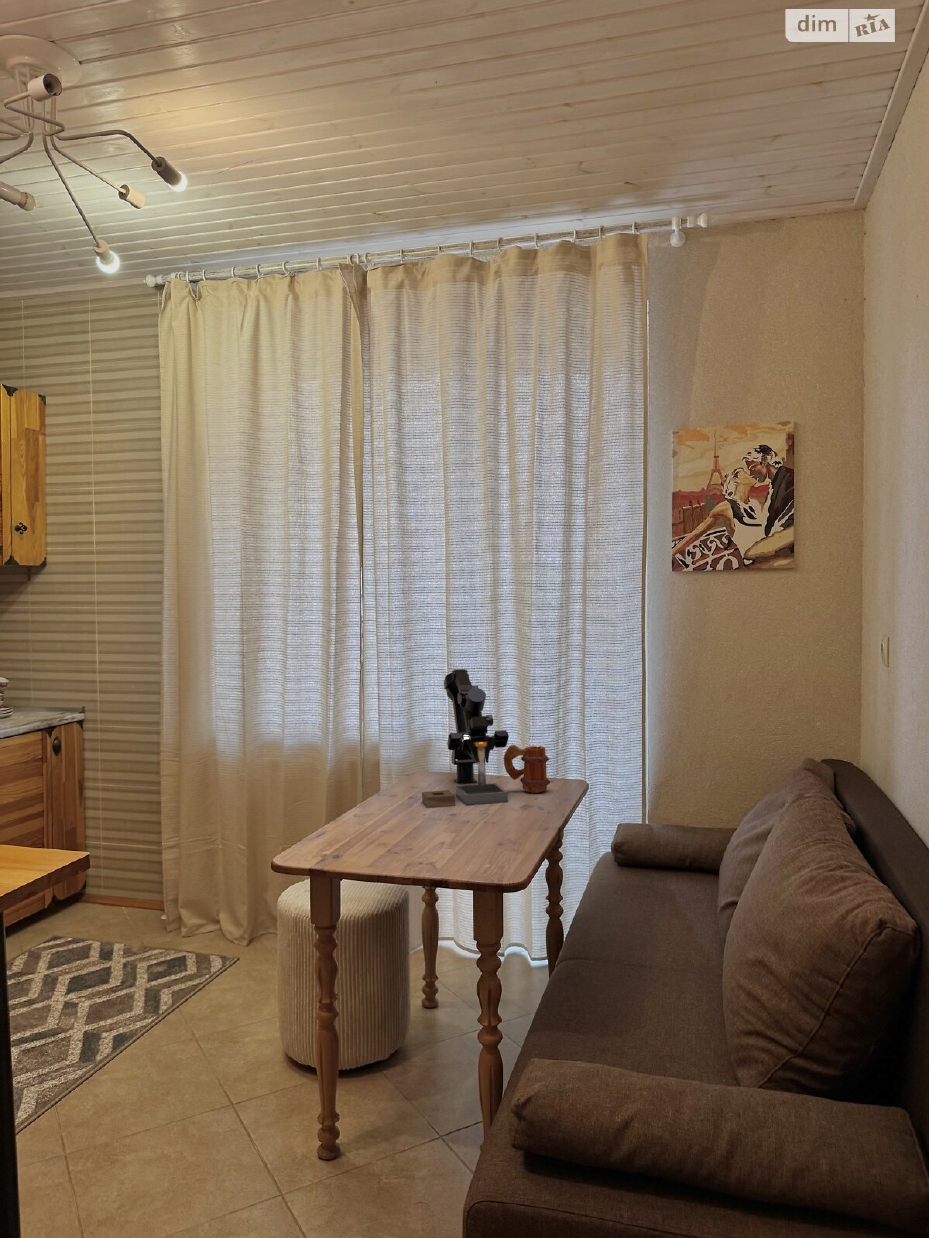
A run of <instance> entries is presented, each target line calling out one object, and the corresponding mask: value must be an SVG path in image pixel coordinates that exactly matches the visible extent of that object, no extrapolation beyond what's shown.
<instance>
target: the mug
mask: <svg viewBox="0 0 929 1238" xmlns="http://www.w3.org/2000/svg"><path fill="white" fill-rule="evenodd" d="M519 756H521V757H520V760H521V761H522V762H524V763H523V768H521V769H517V768H516V767H515V766H514V762H513V760H514V759H516V758H517V757H519ZM548 761H550V757H548V755H546V748H545V746H542V745H539V746H536V745H530V746H526V747H525V748H520V747H519V746H518V745H516V744H511V745H509V746H508V748H506V751H505V752H504V755H503V765H504V769H505V771H506V773H507V774H508V776H509V777H510V778H511V779H512V780H514V781H515V780H517V779H519V778H520V777H521V778H520V779H519V780H520V783H522V789H523V790H524V791H526V792H528V793H531V794H532V793H533V794H540V793H539V792H541V793H543V792H544V791H546V790H548V785H550V784H551V780H549V778H548V777H547V762H548Z"/></svg>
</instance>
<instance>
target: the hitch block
mask: <svg viewBox="0 0 929 1238" xmlns="http://www.w3.org/2000/svg"><path fill="white" fill-rule="evenodd" d="M421 797H422V798H421V799H422V804H424V805H425V807H426V808H427V809H431V808H441V807H455V806H456V794H453V792H452V791H451V790H449V789H445V790H444V789H443V790H433V791H431V790H430V791H422V792H421Z"/></svg>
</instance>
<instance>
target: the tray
mask: <svg viewBox="0 0 929 1238" xmlns="http://www.w3.org/2000/svg"><path fill="white" fill-rule="evenodd" d="M455 797H456V798H458V799H459V800H460V801H461V802H462V803H463V804H464V805H465V804H466V805H465V806H475V804H478V805H486V804H487V805H488V804H498V803H499V804H501V803H500V802H503V803H509V792H508V791H507V790H505V789H504V788H503V787H501V786H500V785H499V784H497V783H486V785H478V784H469V785H467V784H466V785H465V784H464V785H455Z"/></svg>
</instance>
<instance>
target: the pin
mask: <svg viewBox="0 0 929 1238" xmlns="http://www.w3.org/2000/svg"><path fill="white" fill-rule="evenodd" d="M474 746H475V747H477V759H478V764H477V785H486V784H487V780H486V779H487V777H486V776H487V775H486V760H485V747H486V746H487V741H475V742H474Z"/></svg>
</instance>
